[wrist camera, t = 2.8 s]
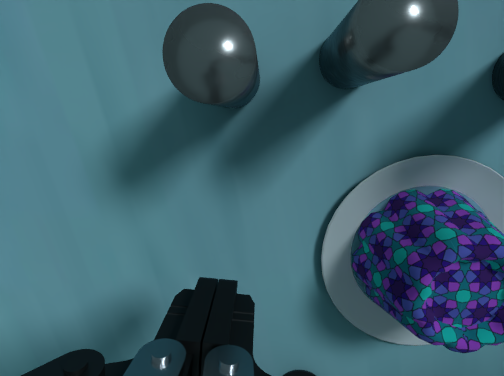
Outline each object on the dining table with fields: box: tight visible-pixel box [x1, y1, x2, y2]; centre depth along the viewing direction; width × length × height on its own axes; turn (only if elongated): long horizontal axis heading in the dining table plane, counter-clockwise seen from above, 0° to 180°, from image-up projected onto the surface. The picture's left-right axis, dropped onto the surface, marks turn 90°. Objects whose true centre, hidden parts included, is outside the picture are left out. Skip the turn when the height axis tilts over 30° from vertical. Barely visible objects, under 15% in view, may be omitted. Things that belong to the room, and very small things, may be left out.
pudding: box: [321, 155, 504, 353], centre depth 16 cm, size 12×12×5 cm
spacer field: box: [163, 0, 504, 376], centre depth 15 cm, size 27×25×7 cm
